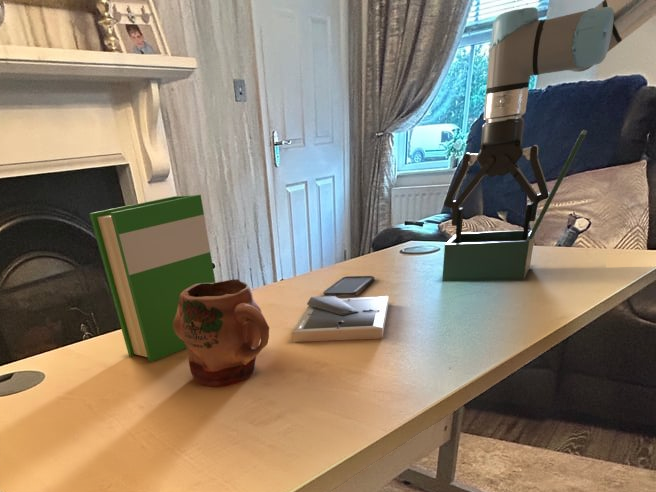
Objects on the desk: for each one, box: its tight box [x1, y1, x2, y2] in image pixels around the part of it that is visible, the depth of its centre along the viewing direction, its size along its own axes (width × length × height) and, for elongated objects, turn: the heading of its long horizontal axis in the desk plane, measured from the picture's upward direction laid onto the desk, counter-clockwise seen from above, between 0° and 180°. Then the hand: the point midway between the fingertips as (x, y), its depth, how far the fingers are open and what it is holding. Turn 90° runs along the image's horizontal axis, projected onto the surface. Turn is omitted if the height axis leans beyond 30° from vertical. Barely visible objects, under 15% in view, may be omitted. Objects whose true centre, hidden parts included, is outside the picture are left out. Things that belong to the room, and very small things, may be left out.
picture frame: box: [291, 295, 389, 343], centre depth 100 cm, size 16×3×21 cm
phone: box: [323, 275, 375, 298], centre depth 121 cm, size 8×1×15 cm
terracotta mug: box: [173, 278, 270, 388], centre depth 80 cm, size 20×12×14 cm, turn 49°
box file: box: [441, 229, 536, 282], centre depth 116 cm, size 17×13×8 cm
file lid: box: [528, 129, 588, 239], centre depth 104 cm, size 18×13×1 cm
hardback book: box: [89, 194, 216, 363], centre depth 95 cm, size 18×7×24 cm, turn 136°
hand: (490, 240), depth 114 cm, fingers open, 13 cm apart
